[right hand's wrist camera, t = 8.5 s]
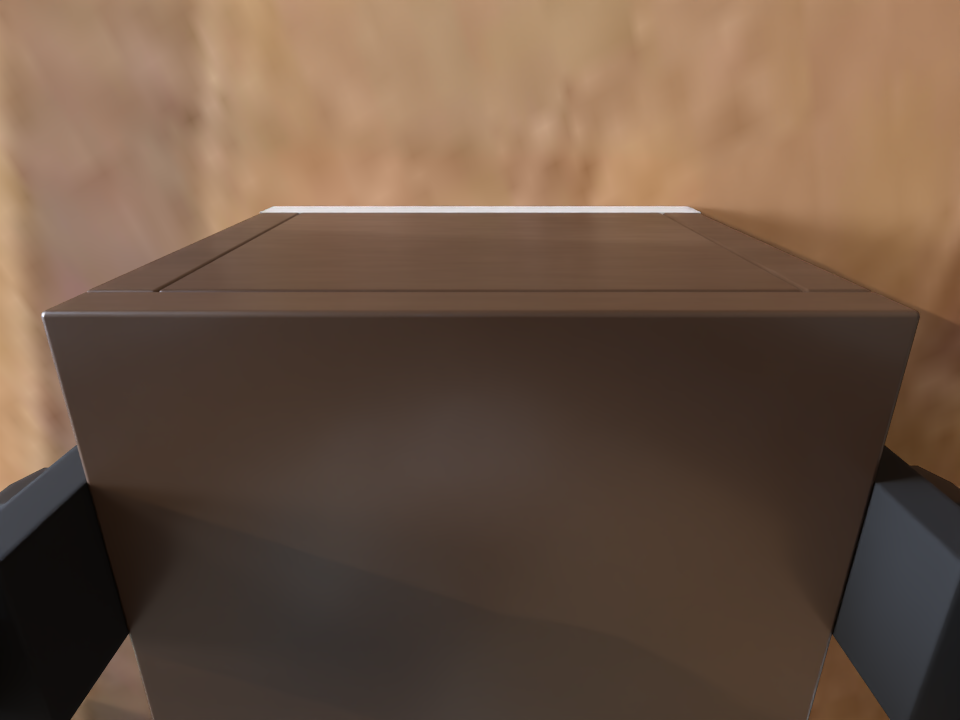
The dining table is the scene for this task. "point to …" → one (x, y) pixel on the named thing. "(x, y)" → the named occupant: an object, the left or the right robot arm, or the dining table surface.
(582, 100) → the dining table surface
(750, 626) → the cabinet
